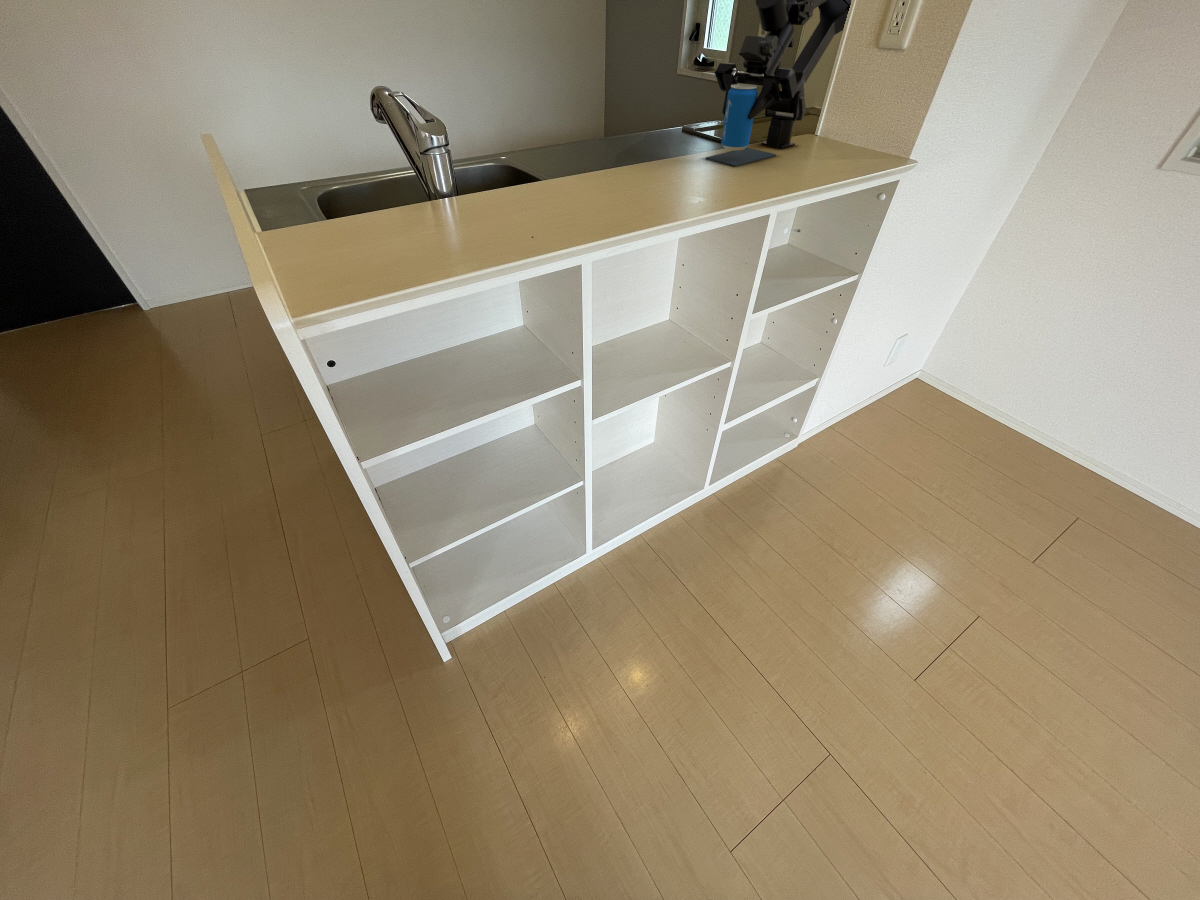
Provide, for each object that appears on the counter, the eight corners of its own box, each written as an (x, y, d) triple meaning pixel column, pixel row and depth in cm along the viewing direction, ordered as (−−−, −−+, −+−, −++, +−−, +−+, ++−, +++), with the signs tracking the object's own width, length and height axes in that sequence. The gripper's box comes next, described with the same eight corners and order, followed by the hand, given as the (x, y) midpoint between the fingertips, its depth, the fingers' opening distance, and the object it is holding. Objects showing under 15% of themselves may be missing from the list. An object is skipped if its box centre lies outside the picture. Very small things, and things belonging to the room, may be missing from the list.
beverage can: (715, 145, 121) (724, 84, 113) (740, 143, 122) (750, 82, 114) (728, 152, 116) (737, 88, 108) (753, 150, 118) (764, 87, 109)
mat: (746, 149, 130) (747, 147, 130) (775, 156, 125) (776, 154, 125) (705, 159, 123) (705, 157, 123) (734, 166, 118) (735, 164, 118)
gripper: (726, 16, 110) (690, 83, 112) (805, 19, 101) (765, 93, 103) (738, 58, 120) (705, 120, 121) (812, 64, 110) (775, 131, 112)
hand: (736, 115), depth 114 cm, fingers closed on beverage can, 6 cm apart
